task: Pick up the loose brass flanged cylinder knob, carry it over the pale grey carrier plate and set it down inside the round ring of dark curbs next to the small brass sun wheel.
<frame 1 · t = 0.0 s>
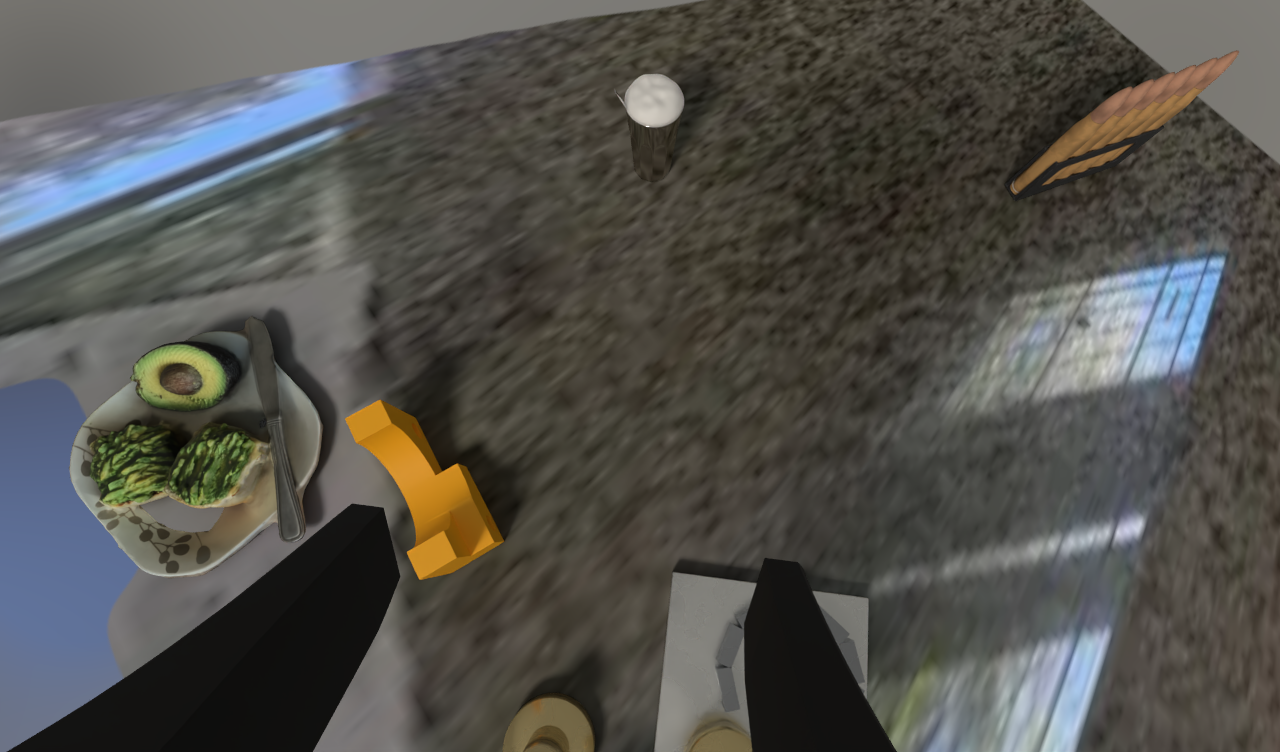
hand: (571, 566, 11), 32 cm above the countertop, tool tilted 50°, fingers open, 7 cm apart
pipe clamp: (445, 486, 43), on the countertop
ammunition clip: (1058, 176, 51), on the countertop
salad plate: (214, 442, 44), on the countertop
milkshake: (647, 169, 51), on the countertop
flanged cylinder knob: (551, 741, 38), on the countertop
carrier: (759, 705, 39), on the countertop
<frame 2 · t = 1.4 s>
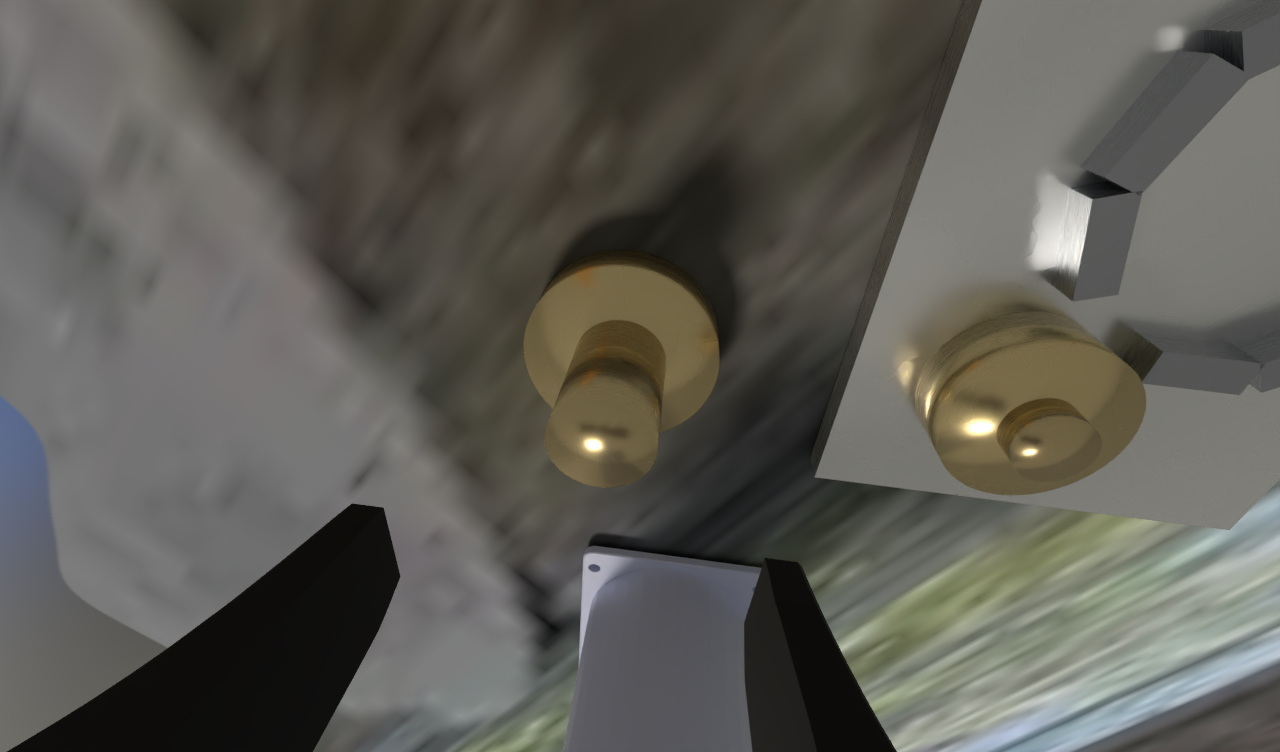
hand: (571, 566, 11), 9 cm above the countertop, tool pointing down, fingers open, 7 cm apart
flanged cylinder knob: (626, 336, 18), on the countertop
carrier: (1134, 274, 16), on the countertop
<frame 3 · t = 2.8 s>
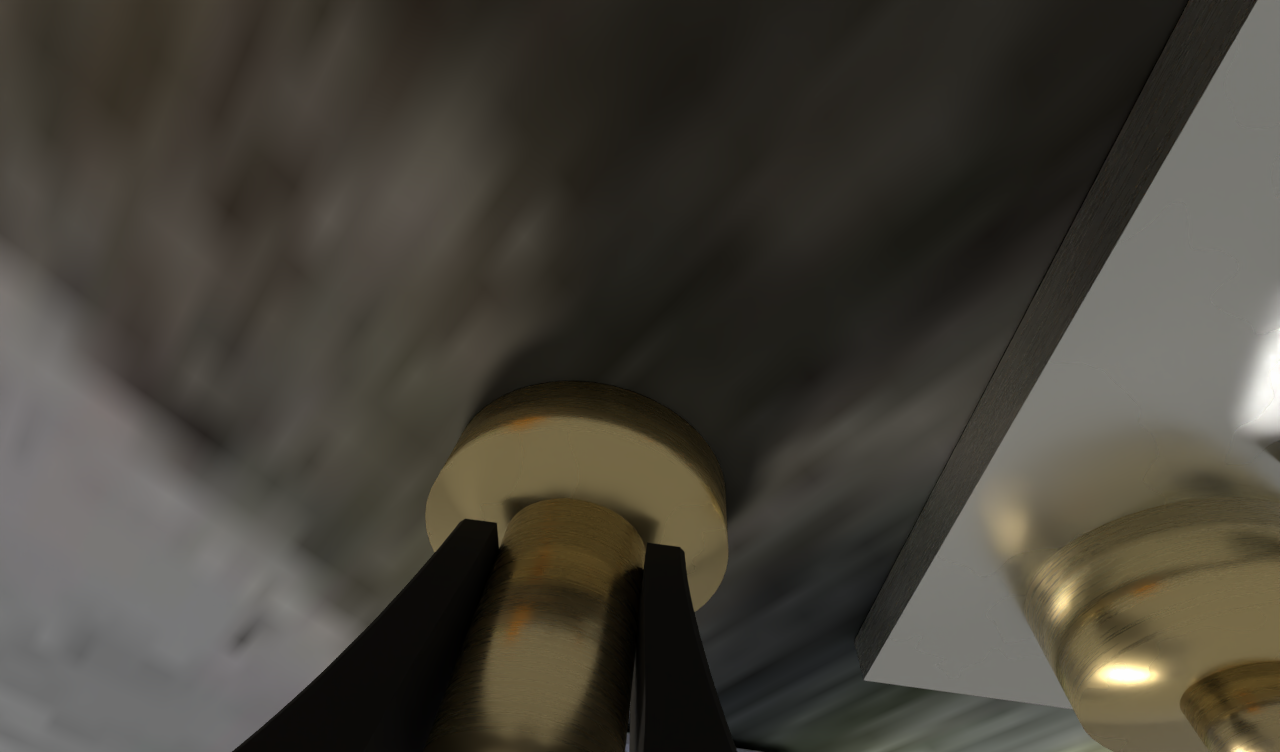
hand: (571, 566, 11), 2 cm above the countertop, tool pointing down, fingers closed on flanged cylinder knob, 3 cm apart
flanged cylinder knob: (588, 494, 12), on the countertop, touching gripper
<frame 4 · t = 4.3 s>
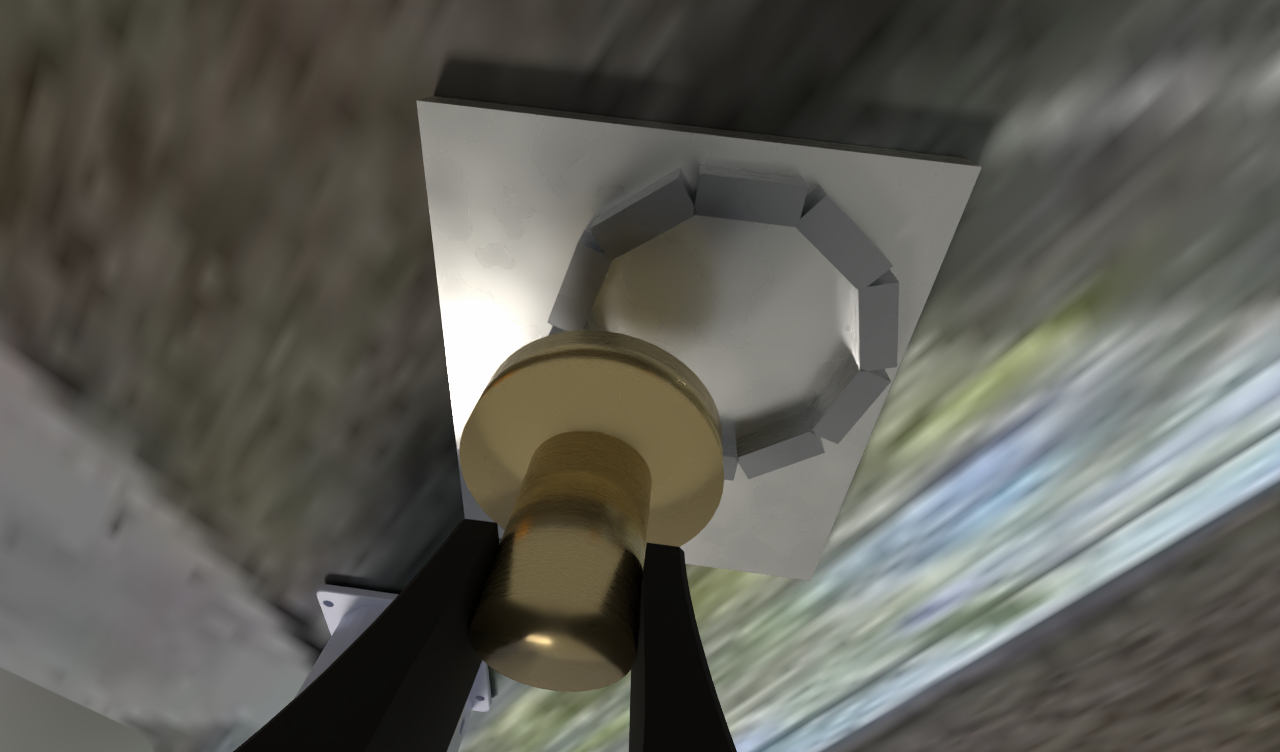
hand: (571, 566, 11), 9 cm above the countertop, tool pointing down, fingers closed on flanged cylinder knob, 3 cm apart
flanged cylinder knob: (600, 435, 14), point 5 cm above the countertop, touching gripper
carrier: (661, 379, 19), on the countertop
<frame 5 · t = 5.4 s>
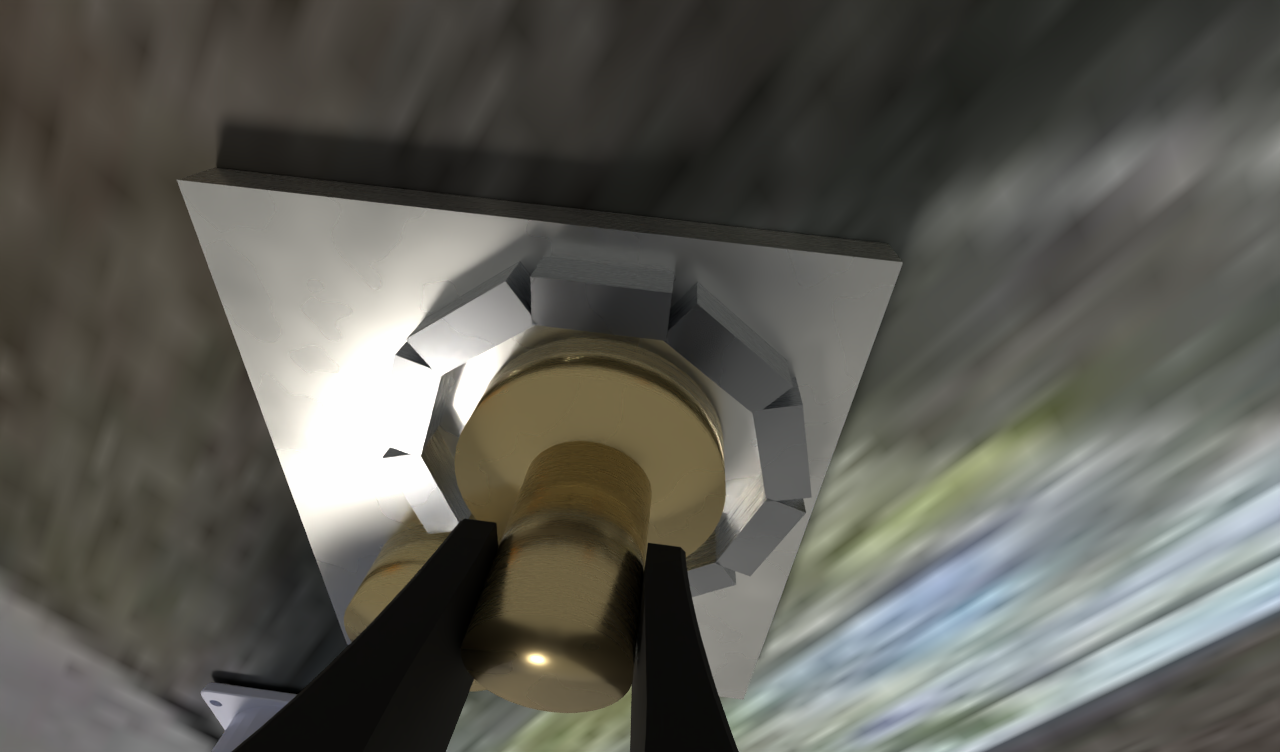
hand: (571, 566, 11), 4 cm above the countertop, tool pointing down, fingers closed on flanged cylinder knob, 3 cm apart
flanged cylinder knob: (599, 445, 14), point 1 cm above the countertop, touching carrier, gripper
carrier: (547, 485, 16), on the countertop
when the fingers open (4 cm above the countertop, at t = 5.7 s): flanged cylinder knob stays where it is, resting on carrier.
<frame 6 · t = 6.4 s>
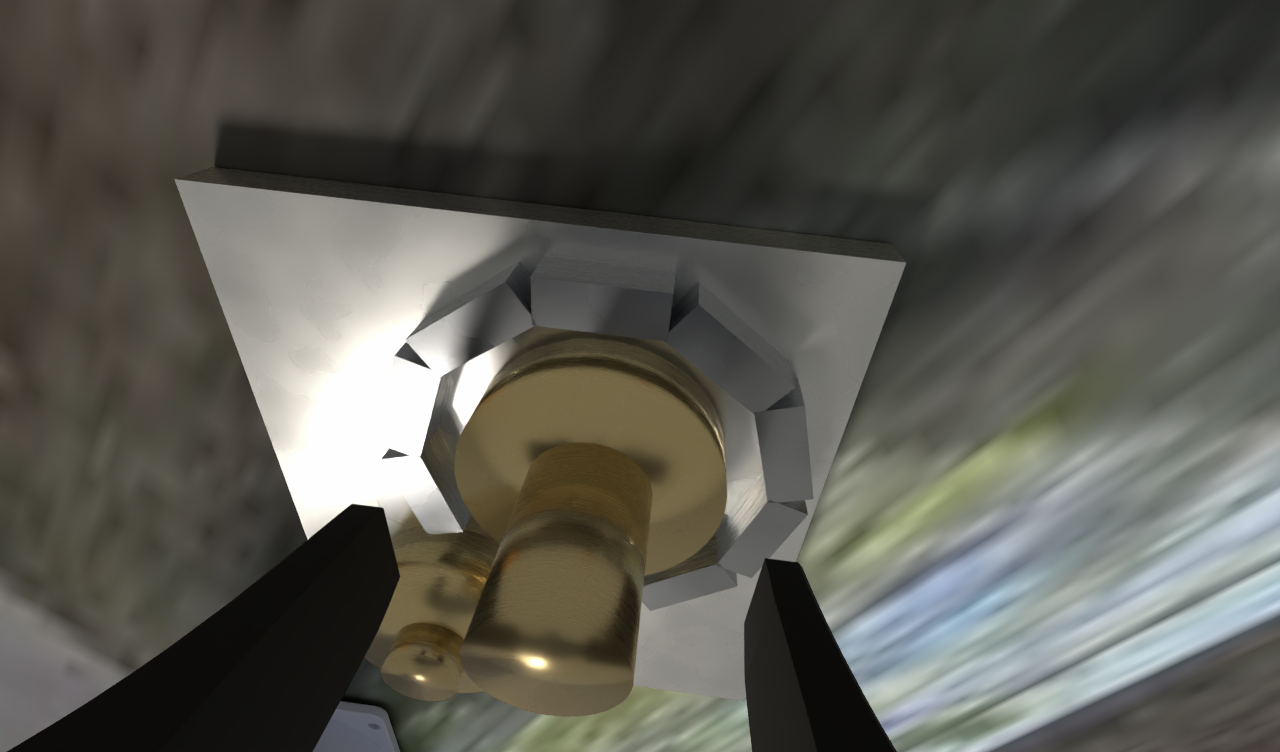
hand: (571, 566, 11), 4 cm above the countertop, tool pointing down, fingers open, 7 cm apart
flanged cylinder knob: (599, 447, 13), point 1 cm above the countertop, touching carrier
carrier: (548, 486, 16), on the countertop
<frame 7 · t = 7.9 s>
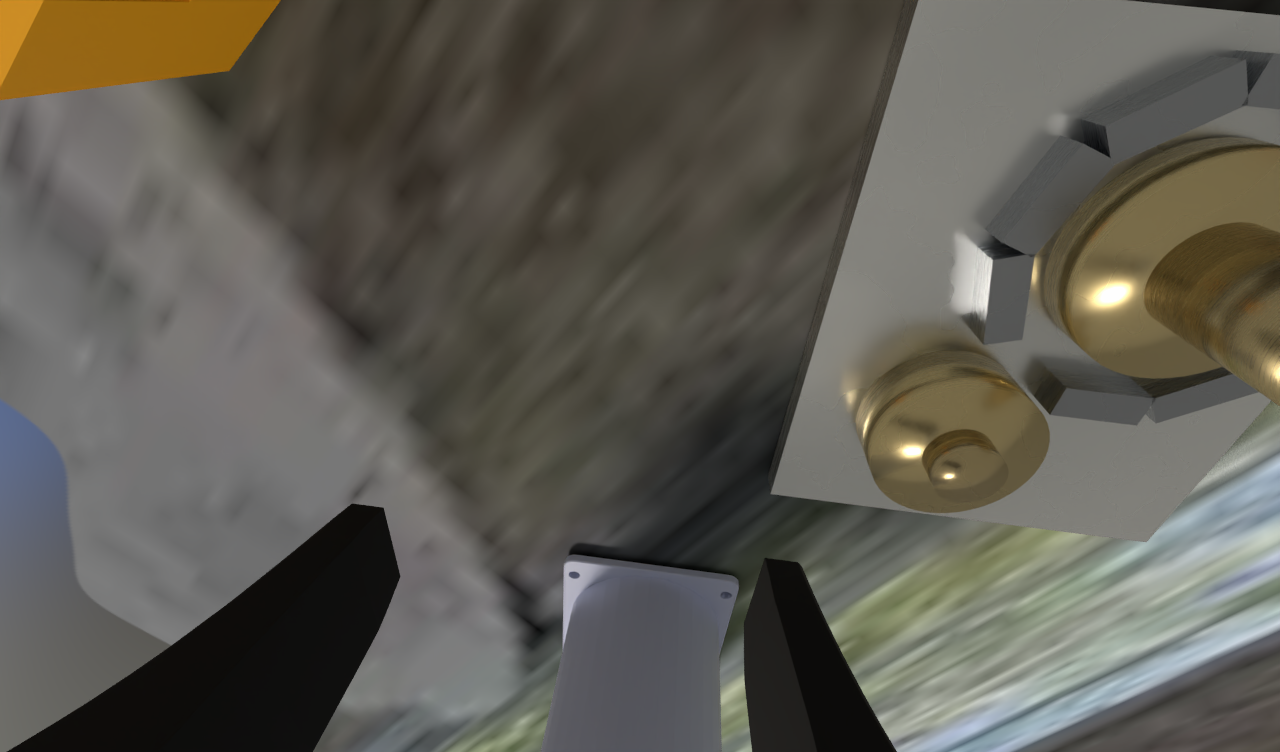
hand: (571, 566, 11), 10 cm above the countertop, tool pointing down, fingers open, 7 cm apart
flanged cylinder knob: (1168, 255, 15), point 1 cm above the countertop, touching carrier
carrier: (1046, 317, 17), on the countertop
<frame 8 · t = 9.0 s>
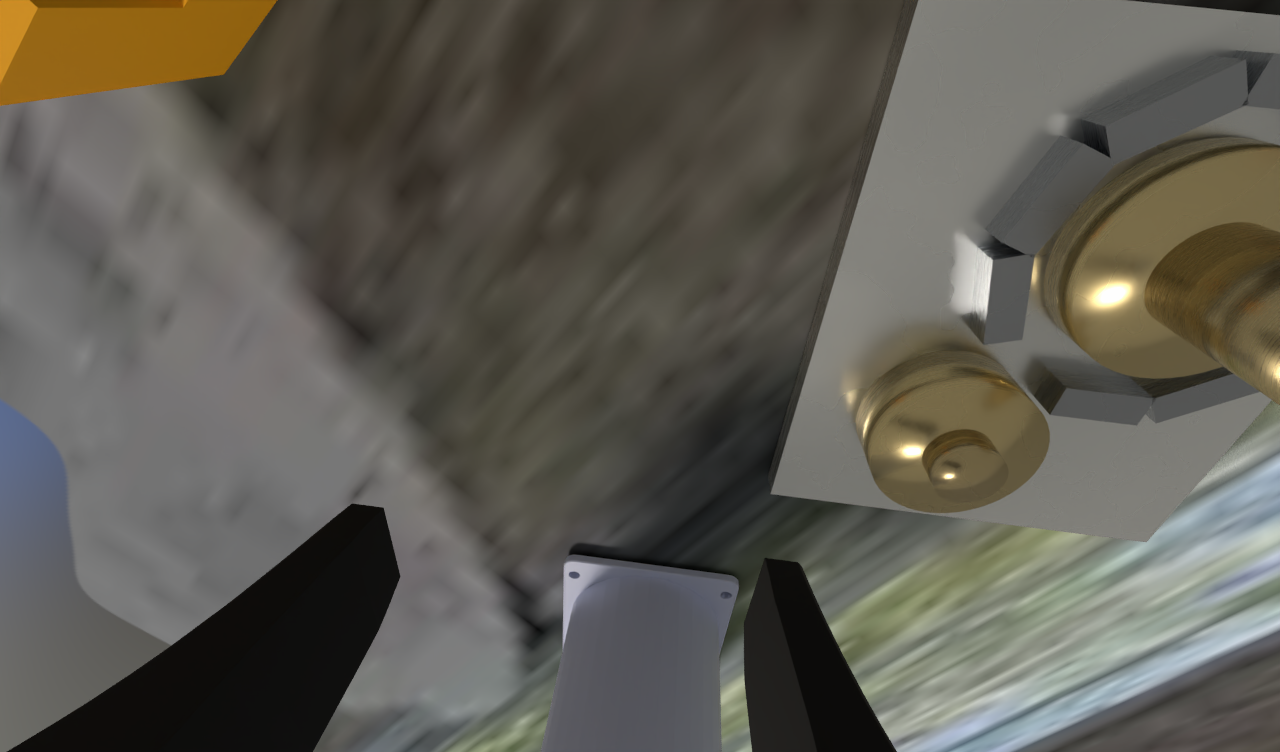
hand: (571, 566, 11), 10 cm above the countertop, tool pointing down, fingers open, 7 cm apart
flanged cylinder knob: (1168, 255, 15), point 1 cm above the countertop, touching carrier
carrier: (1046, 317, 17), on the countertop
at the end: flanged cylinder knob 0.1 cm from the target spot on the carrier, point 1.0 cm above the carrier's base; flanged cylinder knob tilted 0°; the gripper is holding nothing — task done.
